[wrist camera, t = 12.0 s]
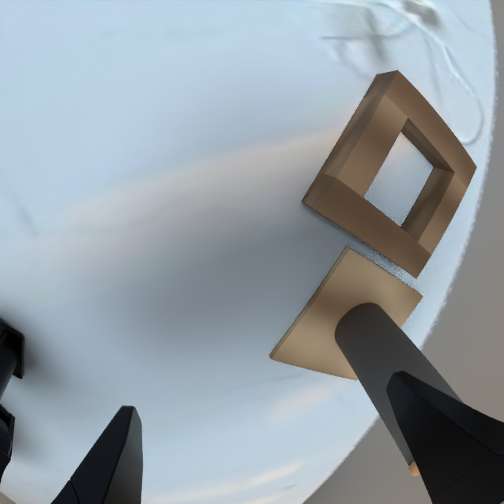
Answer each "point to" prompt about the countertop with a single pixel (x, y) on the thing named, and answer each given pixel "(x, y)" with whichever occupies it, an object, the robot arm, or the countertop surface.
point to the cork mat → (342, 313)
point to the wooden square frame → (370, 161)
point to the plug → (384, 362)
